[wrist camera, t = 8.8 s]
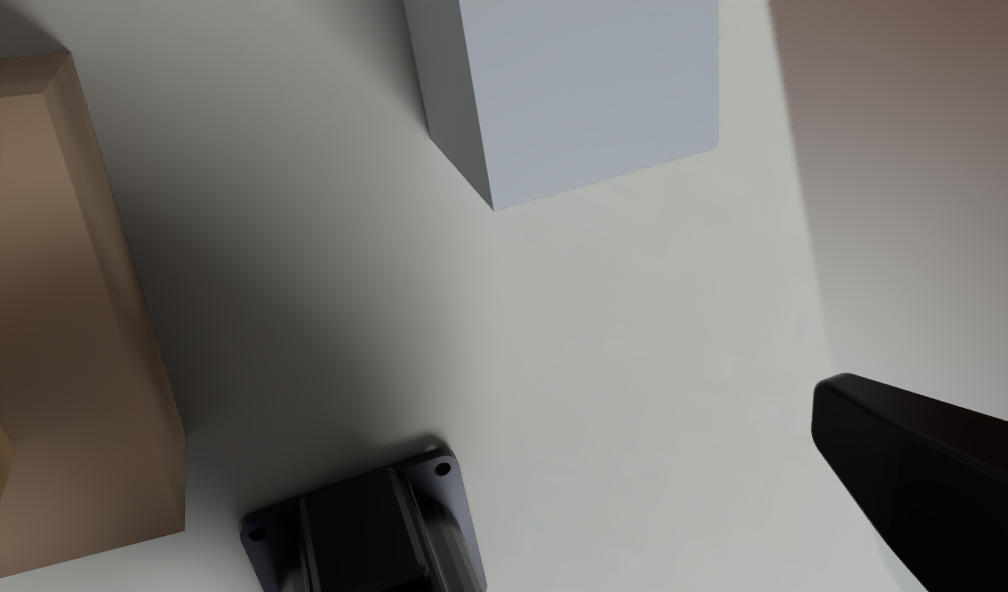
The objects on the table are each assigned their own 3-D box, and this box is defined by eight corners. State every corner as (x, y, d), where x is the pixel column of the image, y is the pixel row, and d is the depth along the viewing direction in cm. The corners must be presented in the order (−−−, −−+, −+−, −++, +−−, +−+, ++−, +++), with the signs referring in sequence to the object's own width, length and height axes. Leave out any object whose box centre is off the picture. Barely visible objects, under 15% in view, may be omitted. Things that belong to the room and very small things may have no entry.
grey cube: (612, 91, 21) (718, 147, 17) (429, 137, 20) (494, 210, 16) (596, -124, 18) (717, -120, 14) (385, -83, 17) (448, -66, 13)
